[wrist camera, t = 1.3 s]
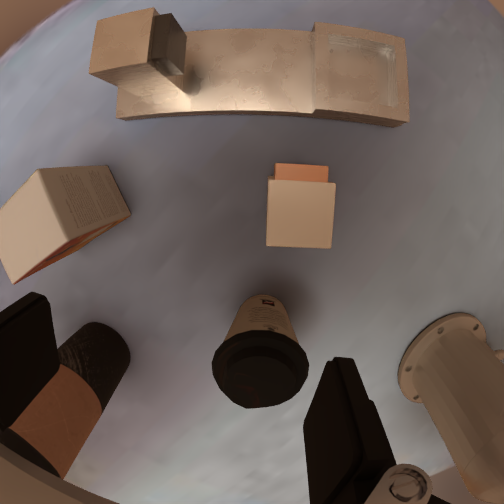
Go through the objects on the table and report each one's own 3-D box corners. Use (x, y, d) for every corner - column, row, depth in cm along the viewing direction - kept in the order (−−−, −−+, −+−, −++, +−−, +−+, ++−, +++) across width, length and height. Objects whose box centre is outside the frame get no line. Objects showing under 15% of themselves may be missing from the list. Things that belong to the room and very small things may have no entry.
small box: (77, 251, 28) (11, 287, 18) (55, 204, 27) (-17, 224, 17) (133, 215, 27) (69, 243, 17) (109, 163, 26) (36, 167, 15)
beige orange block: (312, 224, 26) (330, 248, 19) (266, 222, 26) (266, 245, 19) (315, 166, 25) (336, 166, 17) (268, 163, 25) (269, 162, 17)
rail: (390, 53, 21) (440, 12, 12) (392, 127, 23) (453, 113, 14) (132, 48, 22) (77, 8, 13) (125, 120, 24) (61, 105, 15)
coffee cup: (262, 267, 27) (260, 321, 18) (313, 316, 29) (331, 382, 19) (211, 315, 29) (187, 379, 19) (261, 358, 30) (258, 429, 21)
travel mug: (69, 346, 32) (-24, 452, 12) (89, 306, 30) (-29, 423, 10) (117, 384, 33) (45, 508, 13) (143, 350, 31) (58, 497, 12)
